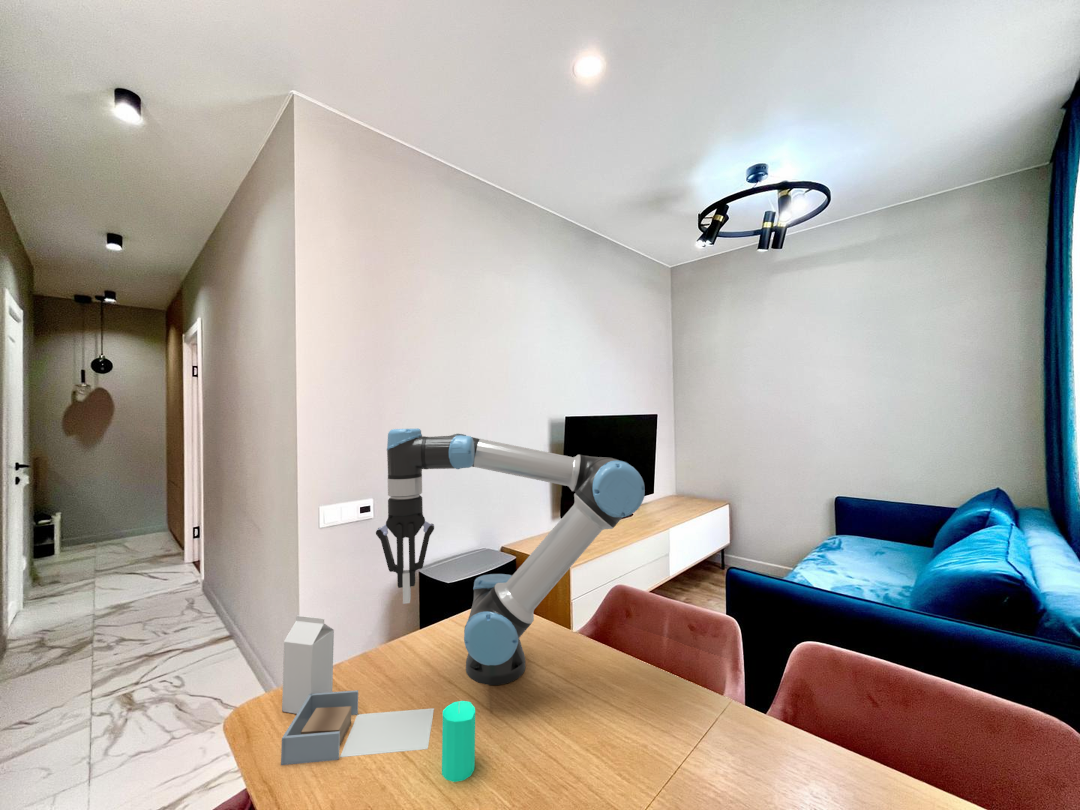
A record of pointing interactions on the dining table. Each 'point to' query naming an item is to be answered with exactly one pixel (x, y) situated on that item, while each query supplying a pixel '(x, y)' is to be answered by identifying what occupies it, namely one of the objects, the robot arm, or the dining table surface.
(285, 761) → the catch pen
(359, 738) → the runner mat
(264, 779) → the dining table surface
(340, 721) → the brown block
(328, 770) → the dining table surface
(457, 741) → the candle
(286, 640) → the milk carton
